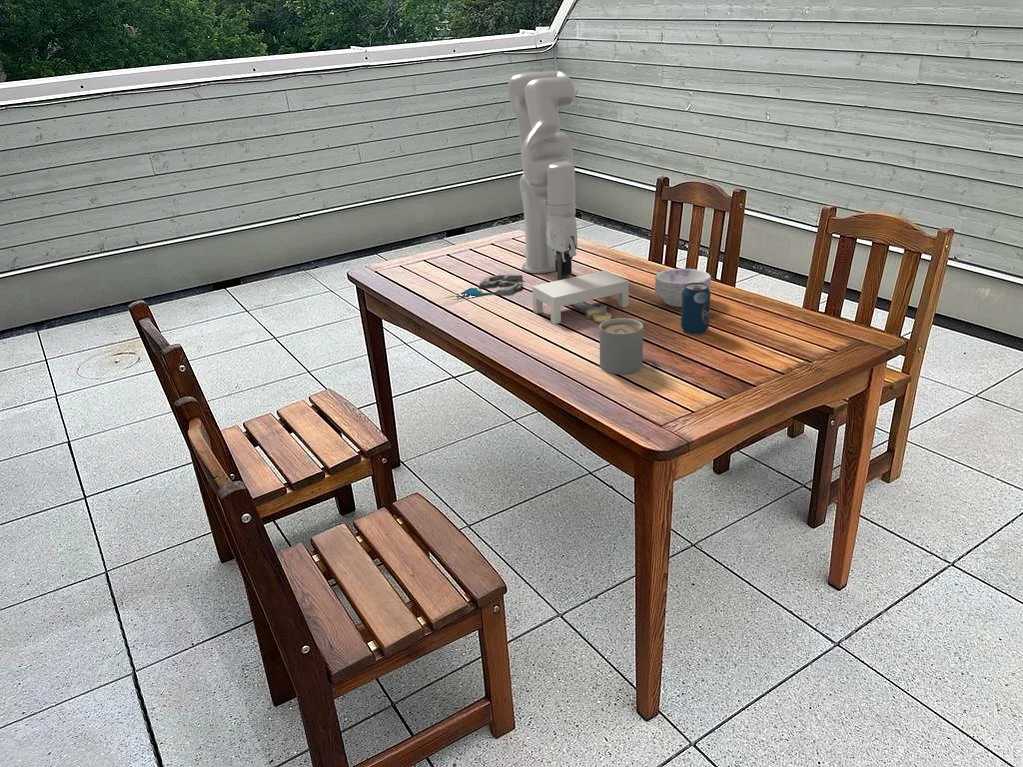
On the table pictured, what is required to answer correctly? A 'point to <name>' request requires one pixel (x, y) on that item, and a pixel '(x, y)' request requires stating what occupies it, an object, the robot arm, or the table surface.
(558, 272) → the blade tool
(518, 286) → the weapon
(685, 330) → the soda can
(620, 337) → the coffee mug
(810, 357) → the table surface
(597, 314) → the brass puck
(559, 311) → the low stand
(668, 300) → the paper bowls
